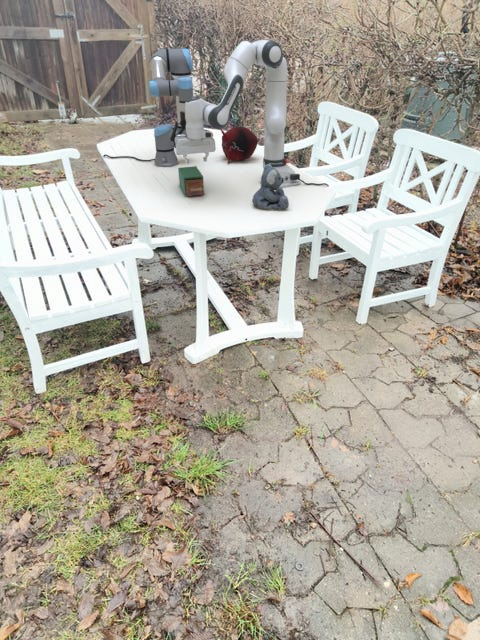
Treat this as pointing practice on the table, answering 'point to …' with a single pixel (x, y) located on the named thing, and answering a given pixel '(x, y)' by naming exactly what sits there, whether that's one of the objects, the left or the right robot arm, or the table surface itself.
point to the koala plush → (270, 191)
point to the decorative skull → (238, 143)
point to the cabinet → (188, 176)
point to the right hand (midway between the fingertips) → (196, 162)
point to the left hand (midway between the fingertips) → (189, 153)
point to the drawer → (194, 187)
